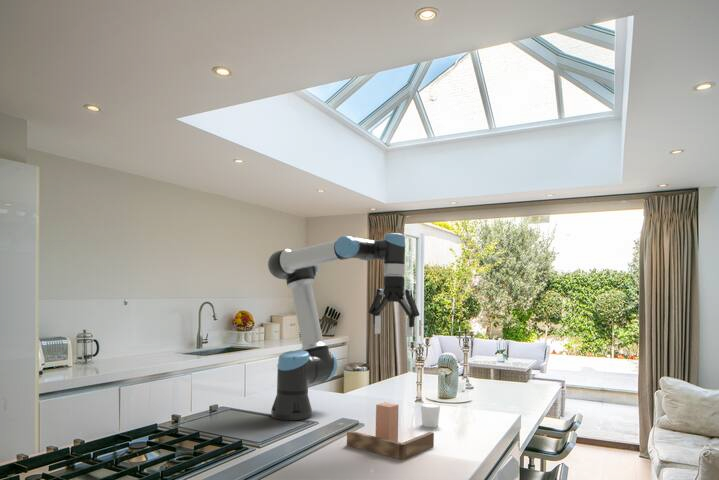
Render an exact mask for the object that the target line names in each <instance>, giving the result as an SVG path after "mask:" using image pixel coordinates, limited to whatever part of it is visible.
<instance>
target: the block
mask: <svg viewBox="0 0 719 480" xmlns="http://www.w3.org/2000/svg"><path fill="white" fill-rule="evenodd" d="M374 436H375V437H379V438H383V439H387V440H392V441H396V442H399V404H395V403H390V402H382V403H377V404H376V405H375V435H374Z"/></svg>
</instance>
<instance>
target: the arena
mask: <svg viewBox="0 0 719 480" xmlns="http://www.w3.org/2000/svg"><path fill="white" fill-rule="evenodd" d="M434 434H435V433H434V432H433V431H428V432H425V433H423V434H421V435H417V436H416V437H413V438H411V439H408V440H406V441H403V442H399V441H398V442H396V441H392V440H387V439H383V438H379V437H375V436H376V435H372V434H371V435H370V434H366V433H361V432H357V431H353V430H348V431H346V446H349V447H354V448H357V449H361V450H363V451H368V452H372V453H376V454H380V455H384V456H388V457H391V458H395V459H398V460H399V459H400V460H402V461H403V460H406V459H408V458H411V457H412V456H415V455H417V454H419V453H421V452H423V451H426V450H428V449H430V448H432V447H434V445H435V443H434V442H435V438H434V437H435V435H434Z"/></svg>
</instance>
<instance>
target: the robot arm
mask: <svg viewBox="0 0 719 480" xmlns="http://www.w3.org/2000/svg"><path fill="white" fill-rule="evenodd" d="M405 256H406V237H405V234H403V233H397V232H390V233H389V232H388V233H385V234H384V239H367V238H361V237H357V236H351V235H342V236H341V235H340V237H338V238H337V239H336V240H331V241H328V242H324V243H319V244H315V245H310V246H306V247H302V248H298V249H293V250H291V249H289V248H286V249H283V250H278V251H275V252H274V253H272V254H271V255H270V257H269V259H268V261H267V268H268V271H269V272H270V274H271V275H272V276H273V277H274V278H275V279H276V278H277V279H278V280H279V279H280V280H285V281H286V285H287V288H289V289H290V290H291V291H292V298H293V304H294V308H295V314H296V319H297V324H298V330H299V335H300V340H301V345H302V347H301V349H299V350H298V349H297V350H290V351H289V350H288V351H285V352H282V353H281V354H279V357H278V361H277V377H276V379H277V380H276V381H277V383H276V385H277V386H276V395H275V399H274V401H273V404H272V407H271V411H270V417H271V418H273V419H277V420H282V421H302V420H308V419H309V418H312V416H313V408H312V404H311V401H310V398H309V385H311V384H319V383H325V382H327V381H331V380H332V379H333V377H334V376H335V374H336V372H337V370H338V360H337V357H336V355H335V354H334V353H333V352H331V351H330V349H329V345H328V344H327V343H325V342H324V338H323V333H322V329H321V324H320V320H319V318H320V317H319V314H318V308H317V303H316V298H315V294H314V289H313V285H314V283H315V282H316V280H315V277H316V276H317V273H318V268H319V267H318V266H320V265H324V264H330V263H335V262H339V261H345V260H349V259H359V260H361V261H383V263H384V264H383V275H384V277H383V288H377V289H376V294H375V297H374V299H373V301H372V303H371V305H370V308H369V310H368V313H369V314H371V315H372V316H373V317H372V319H373V321H372V323H373V325H374V334H375V335H380V334H381V332H382V331H381V329H382V328H381V327H382V323H381V322H382V316H381V313H382V311H383V310H384V309H385V307H386V306H387V304H389V302H390V303H391V302H394V303H399V305H400V306H401V307H402V309H403V311H404V312H405V314H406V315H407V317H406V325H405V327H406V329H405V330H406V332H405V336H406V337H413V328H414V327H415V318H416V317H419V316H420V311H419V309H418V307H417V305H416V302H415V300H414V297H413V291H412V289H405V277H404V276H405V274H406V273H405V271H406V270H405V268H406V266H405V265H406V261H405V260H406V258H405ZM404 296H405V297H404ZM406 300H407V302H406Z"/></svg>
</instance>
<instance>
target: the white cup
mask: <svg viewBox="0 0 719 480" xmlns="http://www.w3.org/2000/svg"><path fill="white" fill-rule="evenodd" d="M440 408H441V406H440V404H436V403H422V404H420V411H421V425H422V426H423V427H426V428H437V427H439V421H440V420H439V419H440V410H441V409H440Z"/></svg>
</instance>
